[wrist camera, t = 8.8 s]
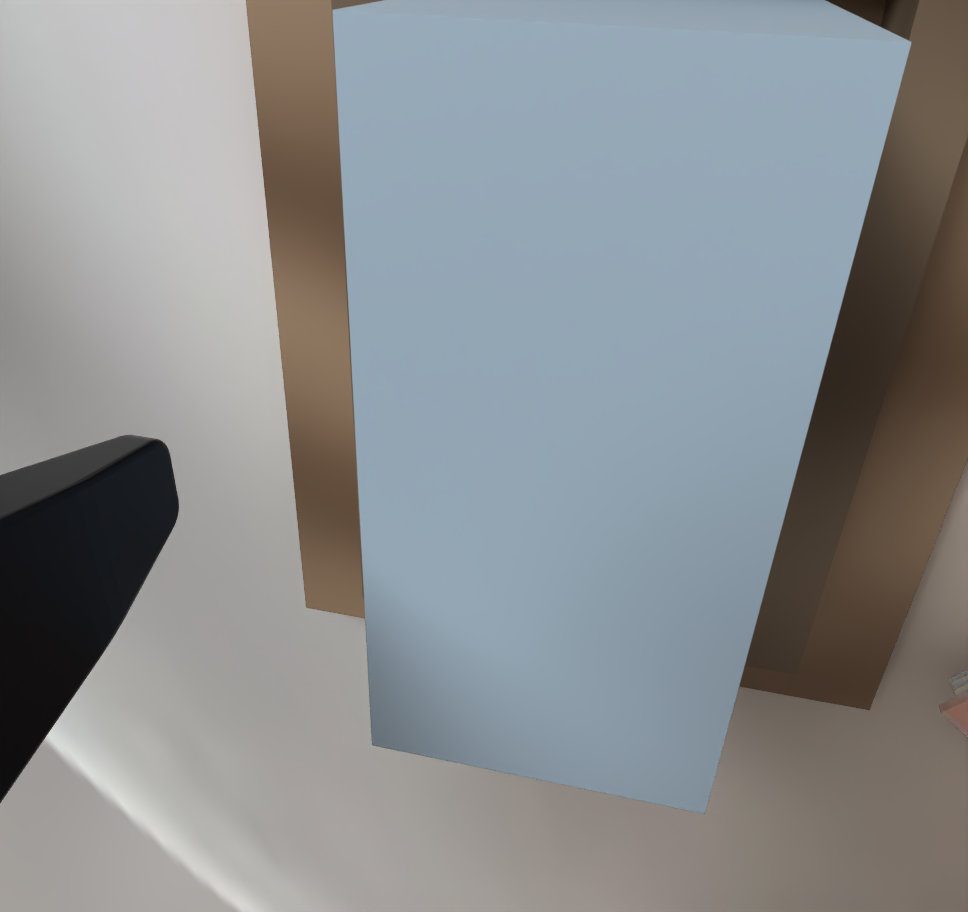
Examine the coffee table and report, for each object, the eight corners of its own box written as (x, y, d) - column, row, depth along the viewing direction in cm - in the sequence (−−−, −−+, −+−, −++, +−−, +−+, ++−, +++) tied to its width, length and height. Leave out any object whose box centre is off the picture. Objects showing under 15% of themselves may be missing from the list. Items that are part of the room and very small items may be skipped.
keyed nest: (238, -403, 12) (115, -493, 10) (1276, -431, 10) (1472, -559, 7) (321, 581, 21) (271, 666, 19) (861, 676, 19) (885, 786, 17)
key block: (482, 477, 18) (371, 745, 12) (501, -22, 13) (332, 8, 7) (704, 510, 17) (704, 814, 11) (810, -8, 12) (911, 40, 6)
